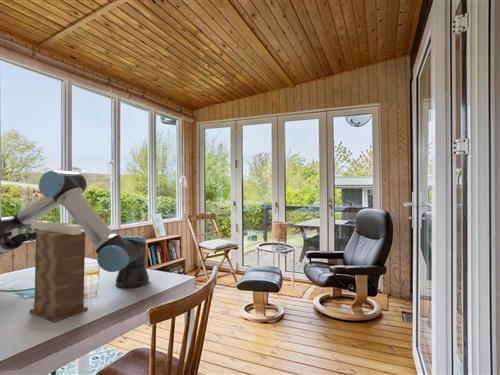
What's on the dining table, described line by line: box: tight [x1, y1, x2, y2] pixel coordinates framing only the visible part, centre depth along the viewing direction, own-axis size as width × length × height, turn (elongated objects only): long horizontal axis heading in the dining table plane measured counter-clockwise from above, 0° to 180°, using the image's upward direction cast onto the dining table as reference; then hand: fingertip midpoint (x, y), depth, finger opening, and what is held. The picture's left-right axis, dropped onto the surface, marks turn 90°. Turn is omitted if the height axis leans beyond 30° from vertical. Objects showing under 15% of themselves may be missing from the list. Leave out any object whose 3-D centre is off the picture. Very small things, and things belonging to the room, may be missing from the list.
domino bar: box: [30, 219, 82, 235], centre depth 112 cm, size 28×3×3 cm, turn 62°
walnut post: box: [29, 230, 89, 323], centre depth 110 cm, size 16×12×30 cm
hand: (36, 230), depth 122 cm, fingers open, 13 cm apart
